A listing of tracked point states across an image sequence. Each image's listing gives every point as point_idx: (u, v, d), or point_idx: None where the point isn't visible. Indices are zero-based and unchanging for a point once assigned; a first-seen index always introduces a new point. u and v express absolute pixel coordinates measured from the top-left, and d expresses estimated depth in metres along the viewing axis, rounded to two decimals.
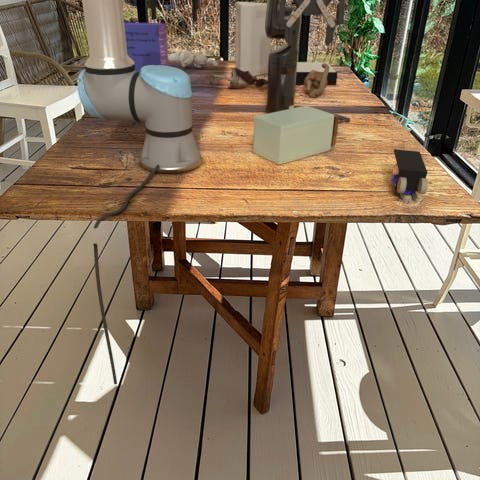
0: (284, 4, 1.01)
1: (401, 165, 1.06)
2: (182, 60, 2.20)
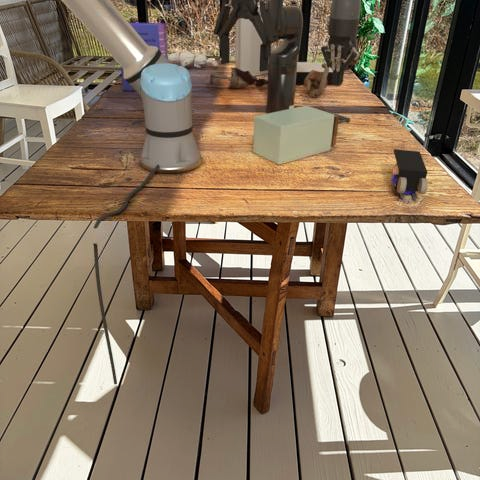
0: (325, 53, 1.30)
1: (401, 165, 1.06)
2: (182, 60, 2.20)
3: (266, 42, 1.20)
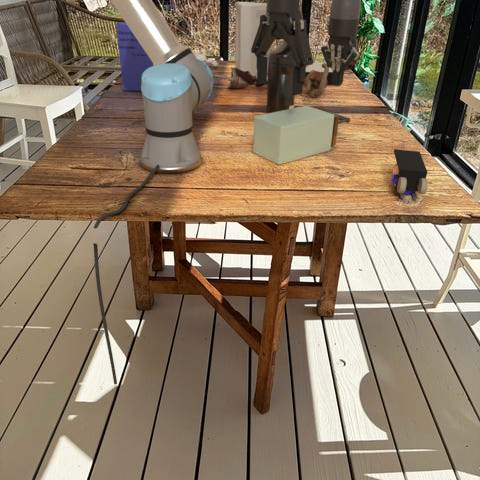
0: (325, 53, 1.30)
1: (401, 165, 1.06)
2: None
3: (299, 64, 1.10)
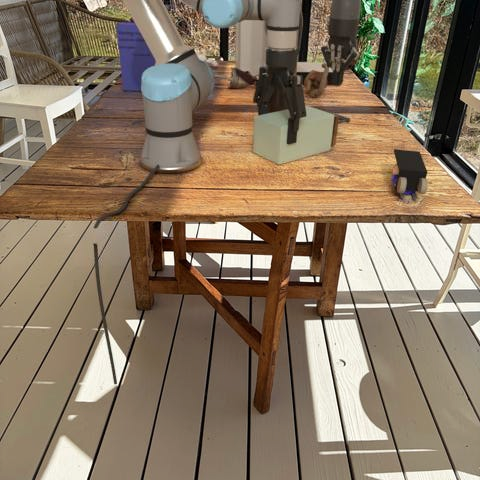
0: (325, 53, 1.30)
1: (401, 165, 1.06)
2: None
3: (293, 117, 1.17)
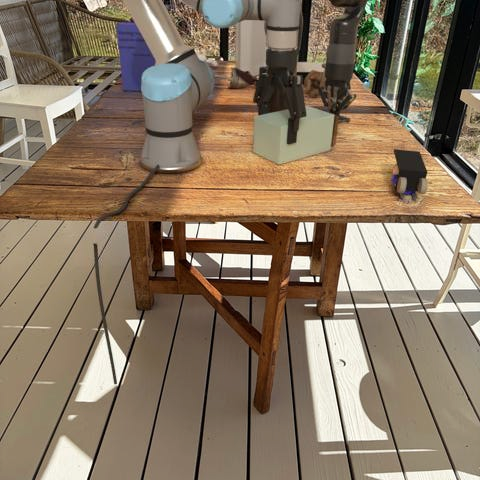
0: (322, 93, 1.35)
1: (401, 165, 1.06)
2: None
3: (293, 117, 1.17)
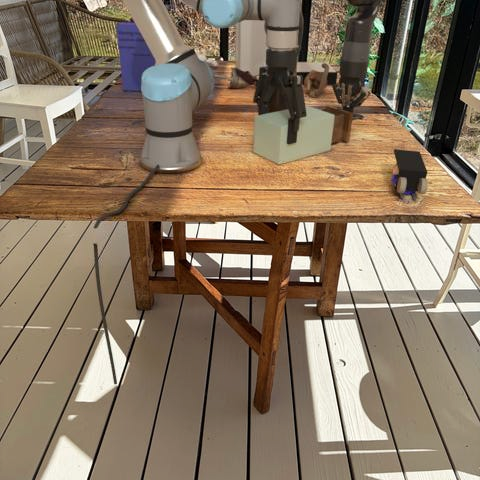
0: (336, 90, 1.38)
1: (401, 165, 1.06)
2: None
3: (293, 117, 1.17)
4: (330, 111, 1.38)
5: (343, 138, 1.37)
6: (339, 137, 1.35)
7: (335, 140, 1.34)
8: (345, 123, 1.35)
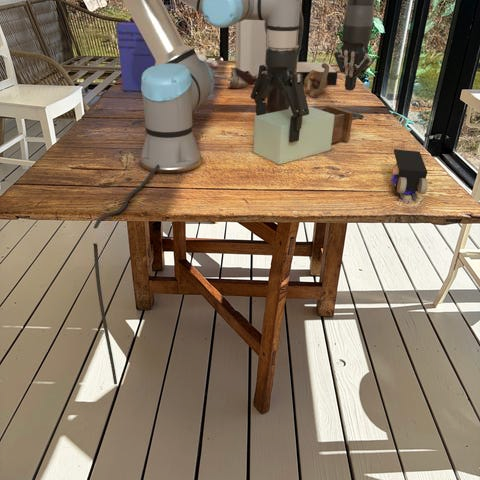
0: (338, 59, 1.33)
1: (401, 165, 1.06)
2: None
3: (296, 115, 1.16)
4: (330, 111, 1.38)
5: (343, 138, 1.37)
6: (339, 137, 1.35)
7: (335, 140, 1.35)
8: (345, 123, 1.35)
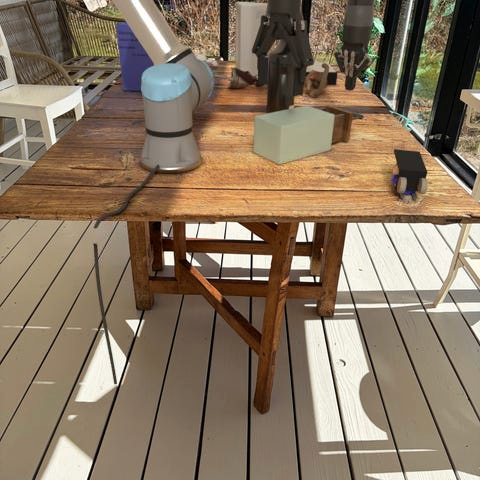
0: (338, 59, 1.33)
1: (401, 165, 1.06)
2: None
3: (300, 65, 1.10)
4: (330, 111, 1.38)
5: (343, 138, 1.37)
6: (339, 137, 1.35)
7: (335, 140, 1.35)
8: (345, 123, 1.35)
